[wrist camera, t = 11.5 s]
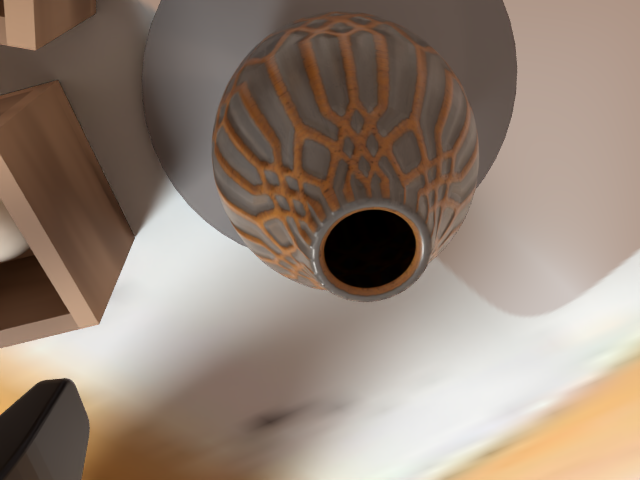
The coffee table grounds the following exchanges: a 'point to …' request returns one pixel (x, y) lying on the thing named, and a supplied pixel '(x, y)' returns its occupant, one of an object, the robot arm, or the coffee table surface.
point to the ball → (10, 237)
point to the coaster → (268, 16)
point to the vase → (345, 154)
